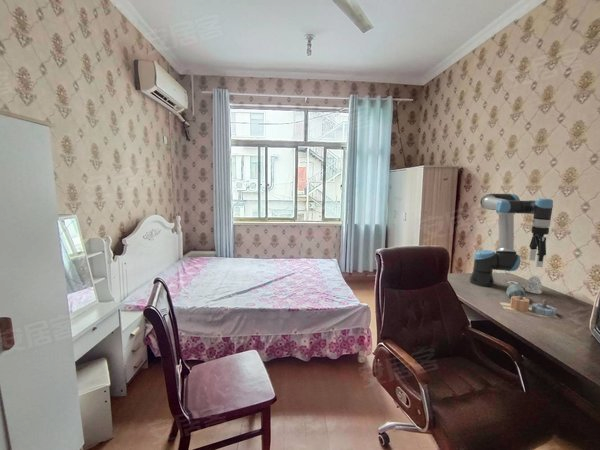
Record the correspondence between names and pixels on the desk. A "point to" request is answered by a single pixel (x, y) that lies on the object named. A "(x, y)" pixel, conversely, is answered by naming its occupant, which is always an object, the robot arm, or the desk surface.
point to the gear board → (530, 312)
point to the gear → (543, 309)
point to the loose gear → (519, 304)
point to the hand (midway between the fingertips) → (535, 263)
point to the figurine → (534, 285)
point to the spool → (515, 291)
